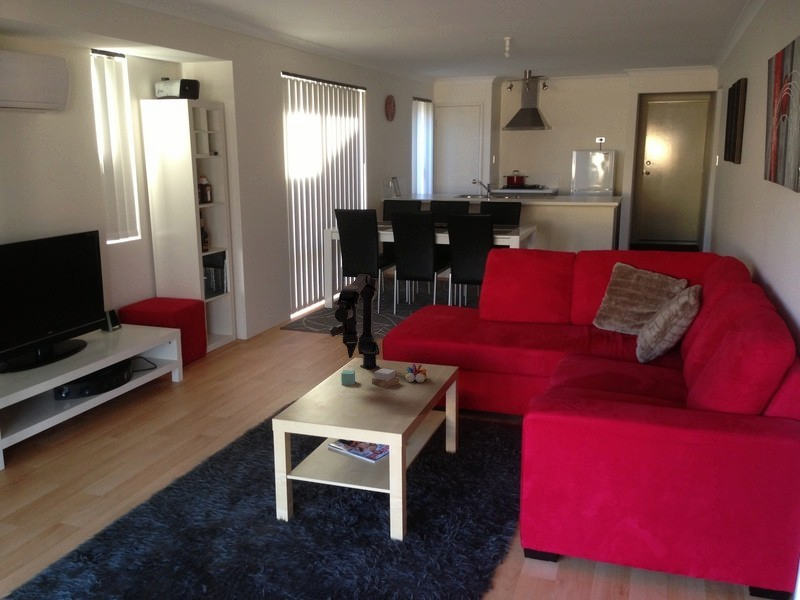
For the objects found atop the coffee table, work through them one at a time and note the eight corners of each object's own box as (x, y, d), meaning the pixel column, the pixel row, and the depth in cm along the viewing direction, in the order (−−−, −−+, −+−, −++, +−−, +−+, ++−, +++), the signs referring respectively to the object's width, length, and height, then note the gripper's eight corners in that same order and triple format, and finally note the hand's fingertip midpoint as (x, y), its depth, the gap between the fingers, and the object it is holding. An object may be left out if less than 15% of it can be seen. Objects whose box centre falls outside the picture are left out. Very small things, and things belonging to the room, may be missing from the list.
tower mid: (374, 378, 293) (374, 372, 292) (382, 374, 298) (382, 368, 298) (387, 381, 290) (387, 374, 289) (395, 377, 295) (395, 370, 295)
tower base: (372, 385, 295) (372, 378, 294) (385, 380, 300) (385, 374, 300) (385, 389, 289) (385, 382, 288) (399, 384, 294) (399, 377, 294)
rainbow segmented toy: (426, 383, 294) (425, 367, 292) (403, 383, 295) (402, 366, 294) (428, 377, 302) (428, 361, 301) (406, 377, 304) (406, 360, 302)
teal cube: (341, 385, 294) (341, 373, 293) (343, 381, 299) (343, 370, 298) (353, 385, 293) (353, 373, 292) (355, 381, 298) (355, 370, 297)
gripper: (330, 315, 299) (330, 351, 301) (330, 322, 281) (330, 360, 283) (356, 315, 300) (357, 351, 302) (357, 322, 282) (358, 360, 284)
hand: (350, 355), depth 293 cm, fingers open, 9 cm apart
